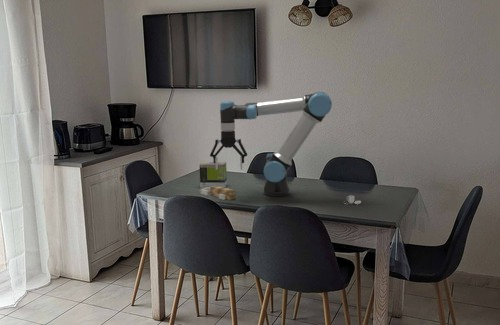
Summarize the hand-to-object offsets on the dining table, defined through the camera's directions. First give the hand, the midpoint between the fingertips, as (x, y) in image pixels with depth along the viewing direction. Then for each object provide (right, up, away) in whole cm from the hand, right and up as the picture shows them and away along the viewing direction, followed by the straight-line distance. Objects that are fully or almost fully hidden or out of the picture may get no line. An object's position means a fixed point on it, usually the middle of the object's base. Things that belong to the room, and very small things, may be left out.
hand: (229, 169), depth 269 cm
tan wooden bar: (-4, -16, +6) cm, 17 cm away
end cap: (-12, -14, +14) cm, 23 cm away
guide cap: (-1, -16, +4) cm, 16 cm away
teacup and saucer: (+65, -19, -10) cm, 69 cm away
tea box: (-11, -11, +30) cm, 34 cm away
